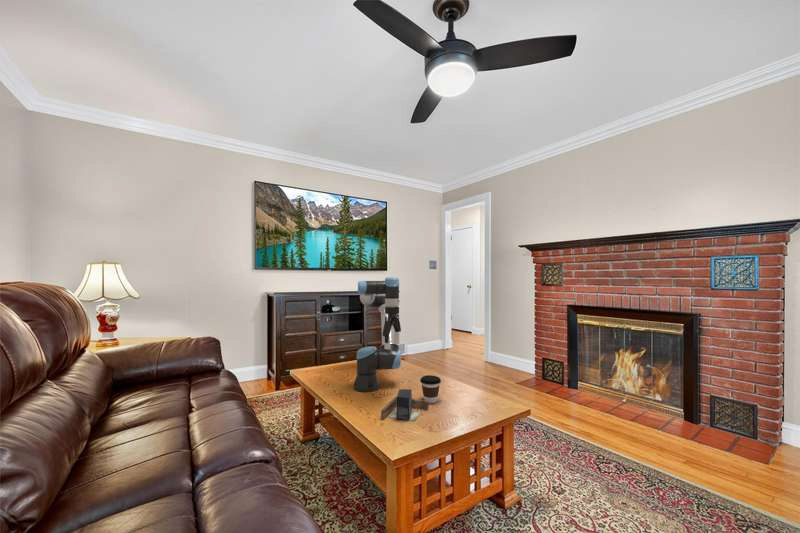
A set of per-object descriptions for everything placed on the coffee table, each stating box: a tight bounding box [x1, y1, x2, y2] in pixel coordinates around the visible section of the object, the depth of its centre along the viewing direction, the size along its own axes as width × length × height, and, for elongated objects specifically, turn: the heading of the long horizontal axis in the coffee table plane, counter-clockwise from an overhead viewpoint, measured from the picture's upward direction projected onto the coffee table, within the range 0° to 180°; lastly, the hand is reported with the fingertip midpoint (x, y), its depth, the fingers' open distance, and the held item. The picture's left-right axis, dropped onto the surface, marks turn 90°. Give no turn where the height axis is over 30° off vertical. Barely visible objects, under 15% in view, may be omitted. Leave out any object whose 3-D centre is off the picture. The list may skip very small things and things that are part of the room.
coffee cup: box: [420, 375, 442, 404], centre depth 174 cm, size 11×11×12 cm
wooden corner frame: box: [380, 396, 430, 422], centre depth 158 cm, size 18×18×4 cm
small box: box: [395, 388, 413, 421], centre depth 156 cm, size 11×6×10 cm, turn 172°
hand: (392, 346), depth 175 cm, fingers open, 13 cm apart
